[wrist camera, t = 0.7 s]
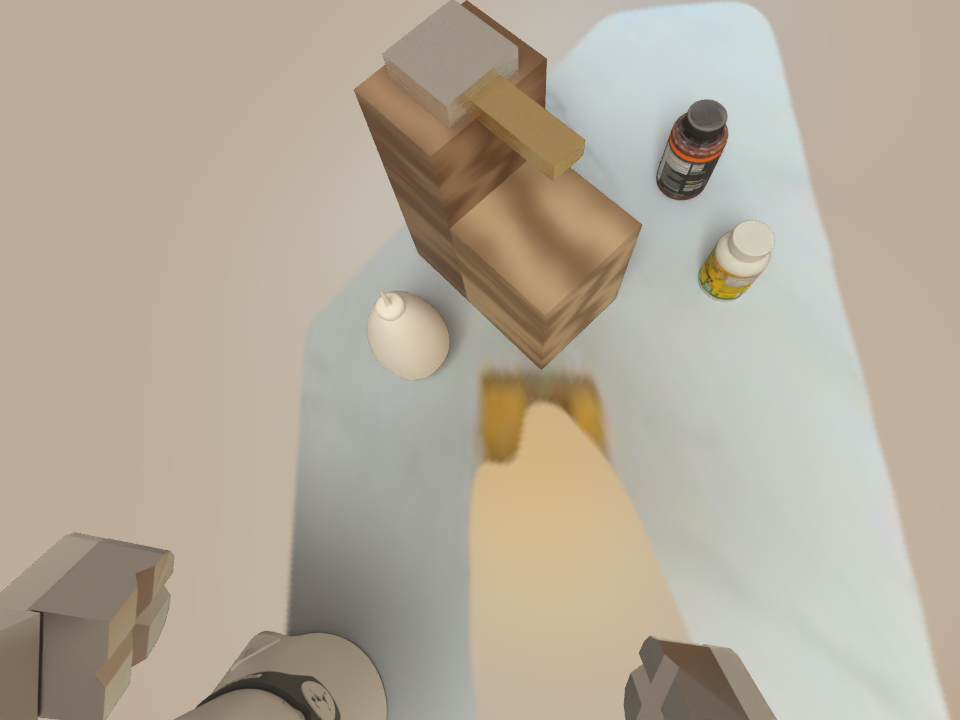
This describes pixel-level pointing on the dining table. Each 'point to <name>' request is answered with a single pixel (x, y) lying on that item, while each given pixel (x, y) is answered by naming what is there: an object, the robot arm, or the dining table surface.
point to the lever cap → (478, 86)
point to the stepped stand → (501, 215)
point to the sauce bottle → (407, 335)
